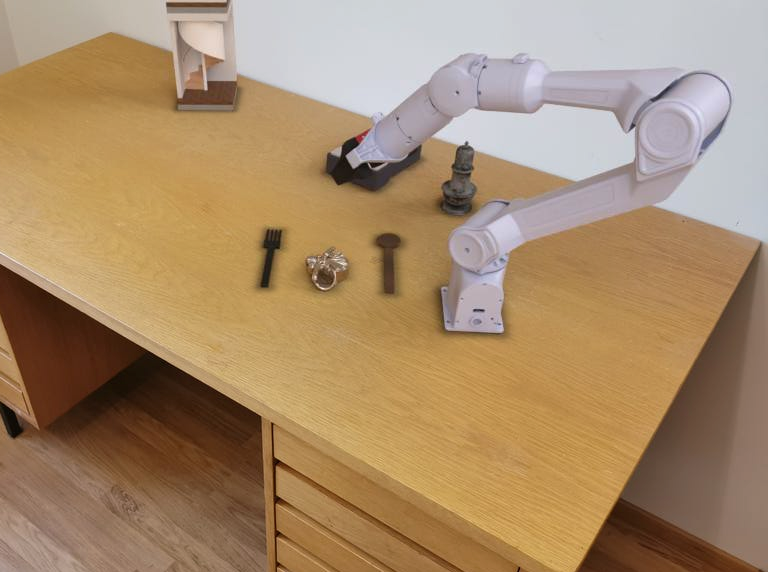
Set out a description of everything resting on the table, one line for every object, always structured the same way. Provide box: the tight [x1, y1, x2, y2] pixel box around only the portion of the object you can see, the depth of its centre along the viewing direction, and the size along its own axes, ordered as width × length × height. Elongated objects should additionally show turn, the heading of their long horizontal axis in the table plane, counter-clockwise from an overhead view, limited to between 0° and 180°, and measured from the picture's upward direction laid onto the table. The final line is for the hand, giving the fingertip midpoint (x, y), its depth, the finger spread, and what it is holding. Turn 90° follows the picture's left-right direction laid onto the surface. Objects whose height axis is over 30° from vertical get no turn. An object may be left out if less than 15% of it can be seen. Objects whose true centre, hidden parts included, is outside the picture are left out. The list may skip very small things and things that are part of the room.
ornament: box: [304, 246, 350, 292], centre depth 111 cm, size 8×7×4 cm
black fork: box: [260, 228, 283, 289], centre depth 116 cm, size 15×3×1 cm, turn 175°
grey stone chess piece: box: [440, 140, 478, 216], centre depth 122 cm, size 6×6×12 cm
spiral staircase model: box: [165, 0, 239, 111], centre depth 146 cm, size 11×11×35 cm
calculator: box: [325, 127, 423, 191], centre depth 135 cm, size 11×4×15 cm
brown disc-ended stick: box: [377, 232, 401, 294], centre depth 115 cm, size 15×4×1 cm, turn 175°
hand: (353, 170), depth 108 cm, fingers open, 7 cm apart
